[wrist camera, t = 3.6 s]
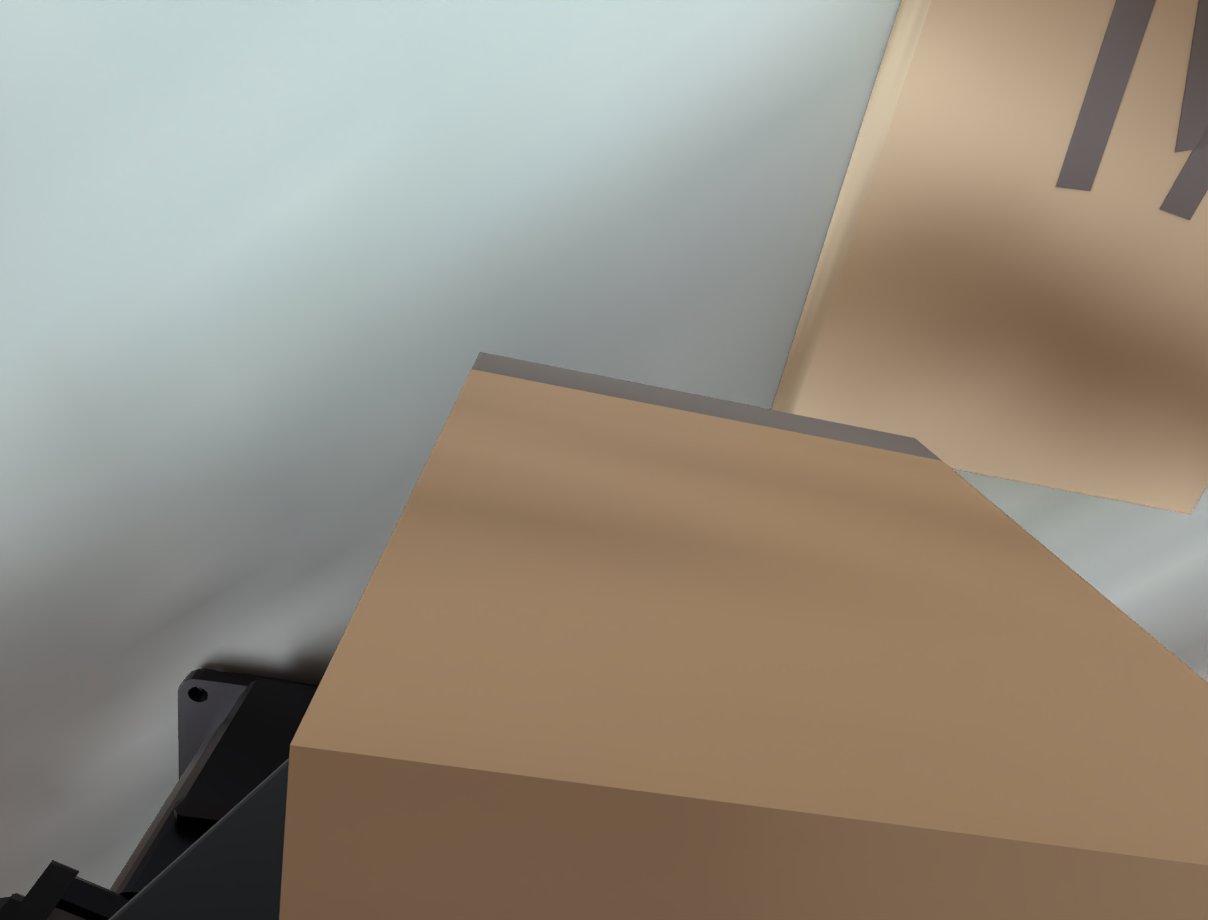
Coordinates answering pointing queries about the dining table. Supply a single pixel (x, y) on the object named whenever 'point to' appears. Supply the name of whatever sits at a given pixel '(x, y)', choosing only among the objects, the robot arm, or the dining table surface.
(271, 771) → the robot arm
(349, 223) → the dining table surface
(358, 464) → the dining table surface
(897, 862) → the block
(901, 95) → the board
